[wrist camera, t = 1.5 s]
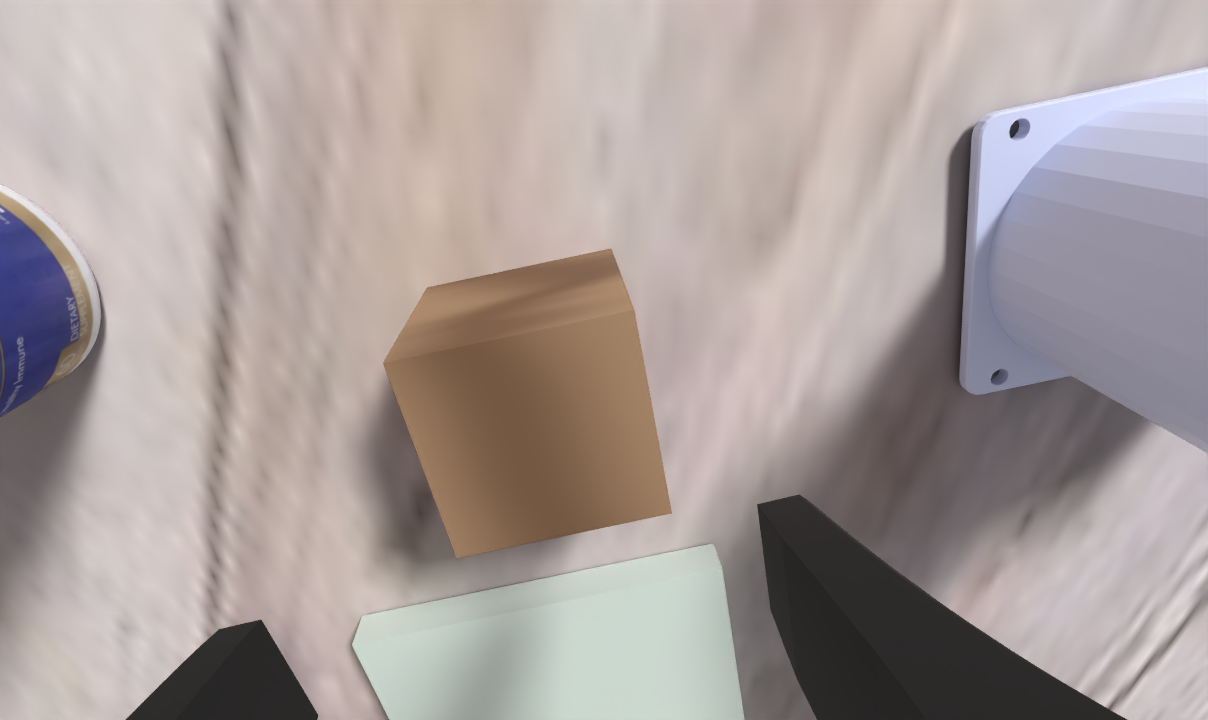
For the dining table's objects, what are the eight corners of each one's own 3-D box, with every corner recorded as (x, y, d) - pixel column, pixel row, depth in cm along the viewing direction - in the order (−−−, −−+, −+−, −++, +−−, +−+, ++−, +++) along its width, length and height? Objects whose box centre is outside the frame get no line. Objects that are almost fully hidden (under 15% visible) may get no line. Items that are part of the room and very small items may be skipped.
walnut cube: (610, 247, 17) (634, 309, 12) (642, 408, 19) (671, 513, 14) (427, 286, 17) (382, 363, 12) (478, 443, 19) (456, 558, 14)
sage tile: (713, 543, 21) (722, 568, 20) (747, 767, 26) (756, 797, 25) (362, 615, 21) (351, 645, 20) (462, 825, 26) (459, 858, 25)
